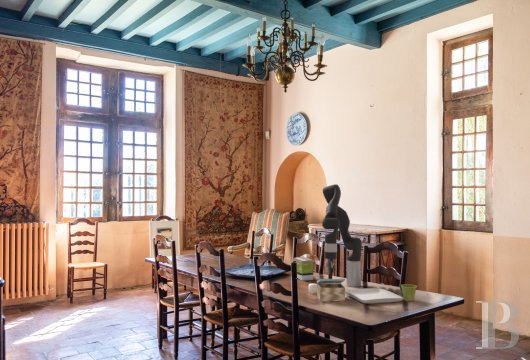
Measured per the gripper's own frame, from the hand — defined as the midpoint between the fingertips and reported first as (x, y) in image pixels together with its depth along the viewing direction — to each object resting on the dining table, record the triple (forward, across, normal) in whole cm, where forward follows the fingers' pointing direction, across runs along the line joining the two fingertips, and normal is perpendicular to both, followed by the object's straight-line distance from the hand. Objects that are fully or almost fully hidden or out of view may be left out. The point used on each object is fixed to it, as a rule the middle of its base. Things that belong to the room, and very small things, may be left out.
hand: (330, 279), depth 281 cm
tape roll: (+12, +17, +8) cm, 22 cm away
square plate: (+12, +1, -26) cm, 29 cm away
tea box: (+12, +65, +9) cm, 67 cm away
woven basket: (+12, +1, -1) cm, 12 cm away
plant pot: (+12, -3, -47) cm, 49 cm away
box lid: (+2, +1, 0) cm, 2 cm away
